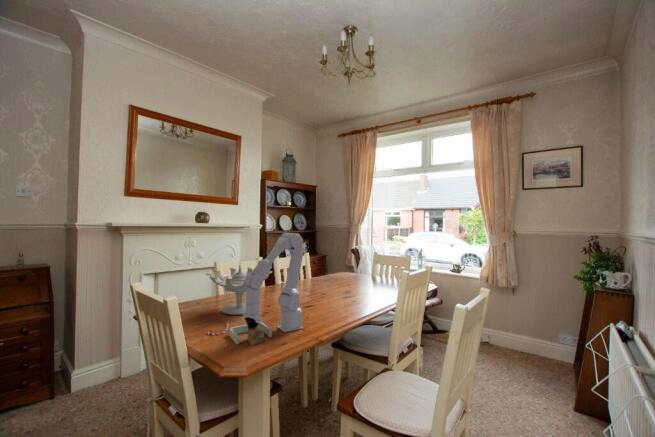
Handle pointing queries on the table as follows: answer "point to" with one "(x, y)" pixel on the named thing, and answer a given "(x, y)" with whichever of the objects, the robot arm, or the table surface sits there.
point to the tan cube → (255, 335)
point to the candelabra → (234, 289)
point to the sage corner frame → (244, 328)
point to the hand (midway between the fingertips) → (252, 334)
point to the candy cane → (218, 333)
